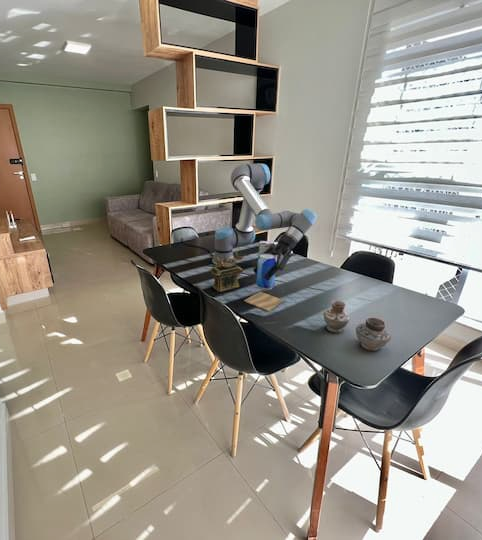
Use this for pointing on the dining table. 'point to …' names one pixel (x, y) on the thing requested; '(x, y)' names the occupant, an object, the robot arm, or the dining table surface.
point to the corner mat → (264, 301)
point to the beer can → (265, 271)
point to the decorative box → (226, 274)
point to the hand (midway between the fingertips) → (260, 275)
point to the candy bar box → (265, 247)
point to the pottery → (358, 327)
